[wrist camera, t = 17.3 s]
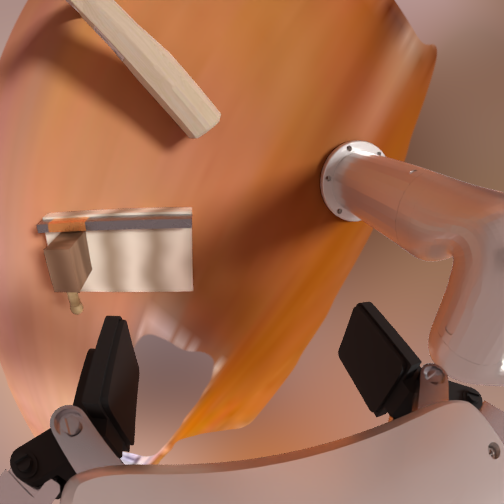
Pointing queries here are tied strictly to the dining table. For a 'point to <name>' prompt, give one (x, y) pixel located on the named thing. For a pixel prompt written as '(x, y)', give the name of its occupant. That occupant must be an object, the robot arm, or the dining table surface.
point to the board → (136, 254)
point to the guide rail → (116, 223)
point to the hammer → (151, 66)
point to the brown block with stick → (69, 265)
